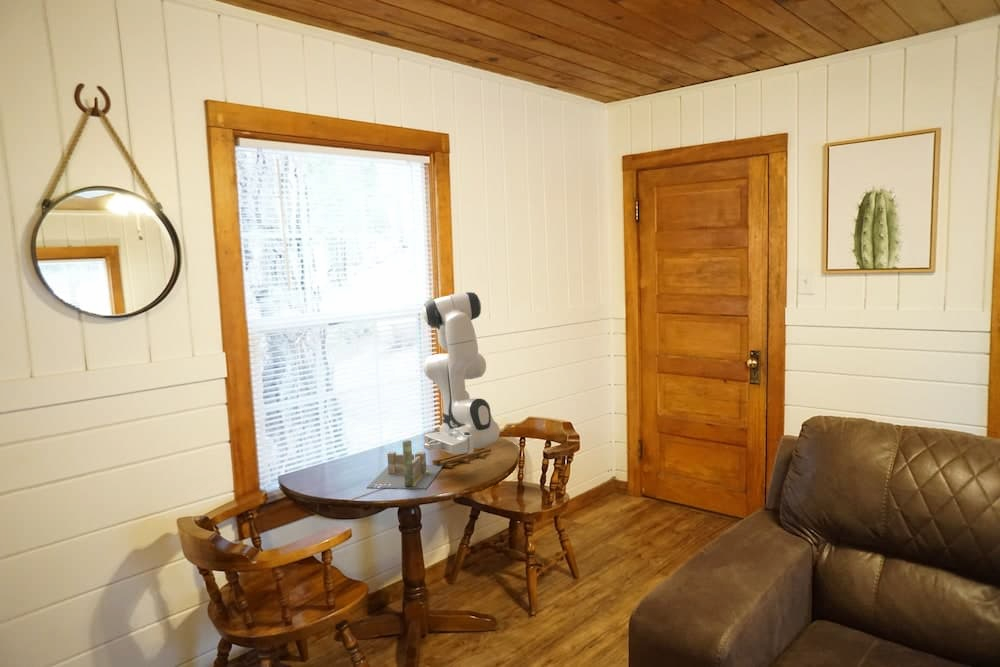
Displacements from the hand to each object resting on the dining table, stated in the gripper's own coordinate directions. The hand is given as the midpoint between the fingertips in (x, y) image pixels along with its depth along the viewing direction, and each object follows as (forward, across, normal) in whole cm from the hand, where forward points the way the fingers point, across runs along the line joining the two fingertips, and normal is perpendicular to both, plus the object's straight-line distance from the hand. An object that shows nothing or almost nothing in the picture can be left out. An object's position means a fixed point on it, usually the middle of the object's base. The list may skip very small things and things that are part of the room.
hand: (426, 447), depth 231 cm
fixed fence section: (+2, -14, +12) cm, 19 cm away
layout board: (+3, -10, +13) cm, 17 cm away
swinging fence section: (+2, -5, +12) cm, 13 cm away
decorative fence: (-24, -14, +13) cm, 30 cm away
